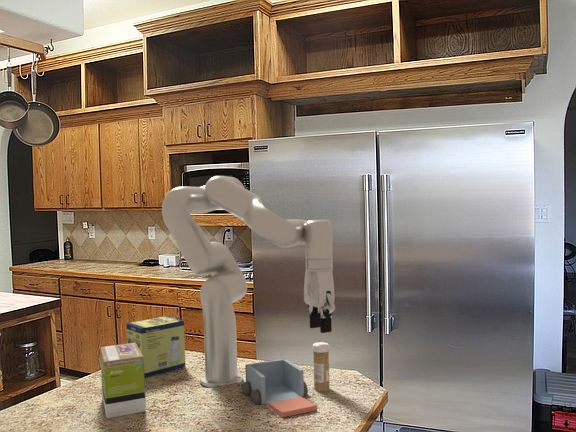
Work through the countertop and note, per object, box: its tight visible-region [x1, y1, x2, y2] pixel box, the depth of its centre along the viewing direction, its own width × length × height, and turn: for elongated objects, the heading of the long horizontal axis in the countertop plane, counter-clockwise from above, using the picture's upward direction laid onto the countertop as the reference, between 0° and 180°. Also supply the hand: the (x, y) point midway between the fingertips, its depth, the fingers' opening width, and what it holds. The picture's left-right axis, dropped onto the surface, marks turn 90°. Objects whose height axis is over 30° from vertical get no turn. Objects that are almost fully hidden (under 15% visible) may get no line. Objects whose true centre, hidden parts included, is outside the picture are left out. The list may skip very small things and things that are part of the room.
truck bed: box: [241, 358, 309, 406], centre depth 144 cm, size 12×15×8 cm
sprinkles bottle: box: [312, 341, 330, 393], centre depth 147 cm, size 5×5×13 cm
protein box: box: [125, 315, 186, 379], centre depth 170 cm, size 10×16×16 cm
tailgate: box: [267, 397, 318, 418], centre depth 134 cm, size 1×9×9 cm
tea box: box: [99, 342, 147, 419], centre depth 140 cm, size 15×10×15 cm
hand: (320, 329), depth 146 cm, fingers open, 5 cm apart
